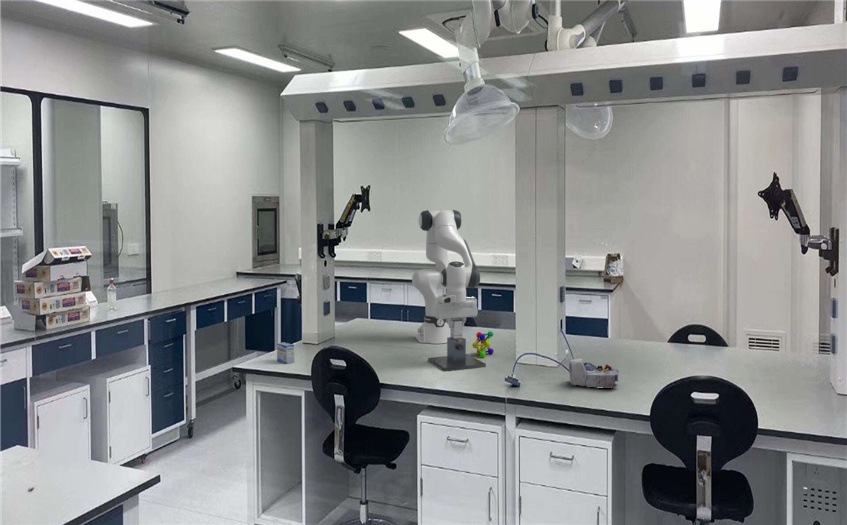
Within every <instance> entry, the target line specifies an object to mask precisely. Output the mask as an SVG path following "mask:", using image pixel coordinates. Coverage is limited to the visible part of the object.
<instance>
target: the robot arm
mask: <svg viewBox="0 0 847 525" xmlns="http://www.w3.org/2000/svg"><path fill="white" fill-rule="evenodd" d="M462 223H463V217H462V214H461V212H460V211H459V210H457V209H456V210H455V209H433V210H429V209H427V210H423V211H421V212H420V214H419V216H418V225H419V228H420V230H422V231H424V232H426V240H425V242H426V243H425V255H426V258H427V259H428V260H429V261H430V262H432V263H434V264H435V268H421V269H419V270H416V271H414V272H413V274H412V277H411V283H412V285H413V287H414V288H415V289H416V290H417V291H419V292H420V293H421V295H422V297H423V299H424V305H425V306H424V307H425V308H424V309H425V315H424V318H423V321H424V322H423V323H422V324H421V325H420V326H419V328H417V333H418V334H416V335H415V336H414V338H415V337H416V338H415V339H416V340H417V342H418V343H421V344H432V345H433V344H439V345H440V344H447V337H451V328H453V324H451V319H455V318H459V319H462V328H465V323H466V321H467V318H475V317H477V316H478V299H477V298H476V297H475V296H467V289H475V288H476V287H477V286H478V285H479V284H480V283H481V274H480V271H479V269H478V267H477V265H476V262H475V260H474V257H473V254H472V252H471V249H470V247H469V244H468V243H467V240H466V239H465V238H463V237H462V236H461V235H460V233H459V232H458V230H459V229H460V228H461V227H462ZM448 251H451V252H453V253H456V254H458V255H460V256H461V258H462V261H463V262H462V261H456V260H455V261H449V255H448ZM443 289H444V290H445V289H446V293H444V294H442V295H439V294H437V290H443Z"/></svg>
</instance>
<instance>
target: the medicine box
mask: <svg viewBox="0 0 847 525" xmlns="http://www.w3.org/2000/svg"><path fill="white" fill-rule="evenodd" d="M276 358H277V359H276V360H277V362H278V363H281V364H285V365H290V364H293V363H295V344H292V343H288V342H286V341H285V342H283V341H282V342H279V343H276Z"/></svg>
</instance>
